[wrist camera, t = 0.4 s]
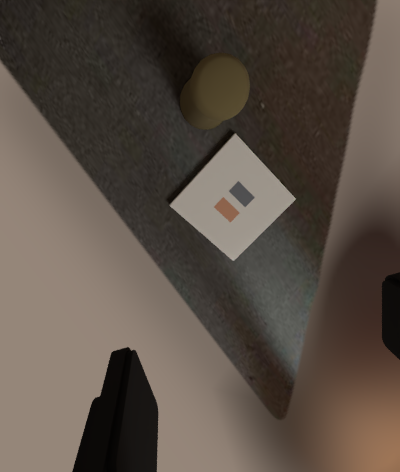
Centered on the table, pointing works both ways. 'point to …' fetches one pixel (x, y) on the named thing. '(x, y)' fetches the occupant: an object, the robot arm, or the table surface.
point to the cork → (215, 91)
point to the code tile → (233, 198)
